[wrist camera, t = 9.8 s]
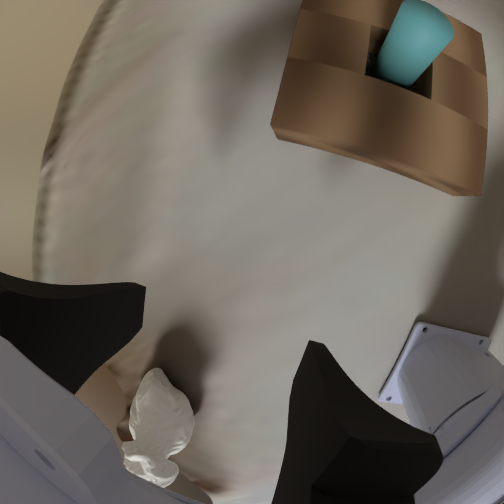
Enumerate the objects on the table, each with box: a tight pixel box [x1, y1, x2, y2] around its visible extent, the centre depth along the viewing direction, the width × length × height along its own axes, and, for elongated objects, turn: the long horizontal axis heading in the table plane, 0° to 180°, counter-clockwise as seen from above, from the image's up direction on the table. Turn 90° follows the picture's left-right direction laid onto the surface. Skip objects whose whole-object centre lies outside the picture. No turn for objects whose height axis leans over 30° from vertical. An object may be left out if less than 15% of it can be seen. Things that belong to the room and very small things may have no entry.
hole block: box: [270, 0, 488, 196], centre depth 14 cm, size 14×14×4 cm
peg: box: [369, 0, 454, 90], centre depth 12 cm, size 3×3×9 cm
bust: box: [122, 368, 195, 488], centre depth 20 cm, size 12×8×11 cm
